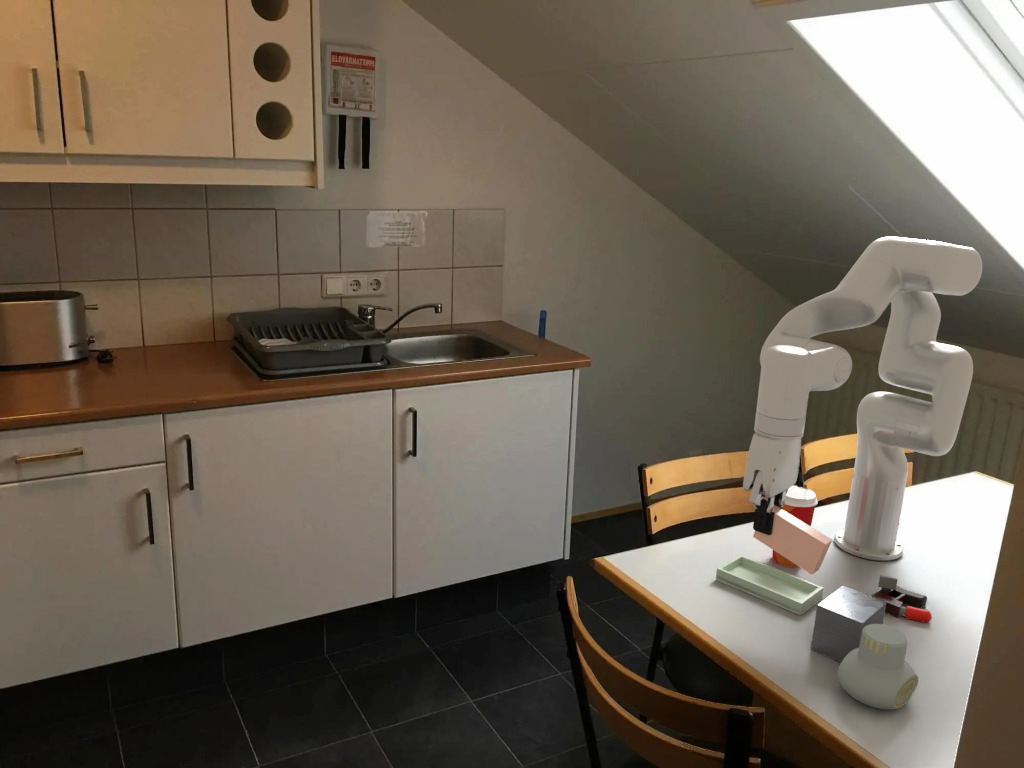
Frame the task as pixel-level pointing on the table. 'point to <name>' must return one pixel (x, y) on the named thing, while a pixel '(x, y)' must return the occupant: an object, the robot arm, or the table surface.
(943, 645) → the table surface
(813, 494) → the paper cup
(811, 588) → the tray
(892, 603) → the toy gun
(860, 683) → the air freshener
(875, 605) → the dispenser
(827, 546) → the pink rectangular block
